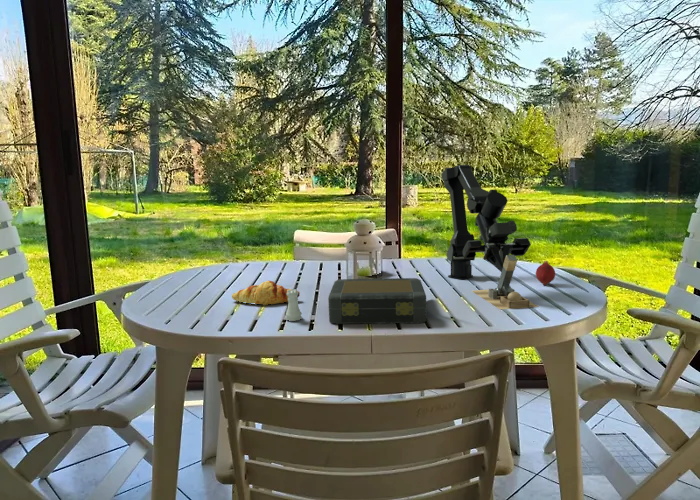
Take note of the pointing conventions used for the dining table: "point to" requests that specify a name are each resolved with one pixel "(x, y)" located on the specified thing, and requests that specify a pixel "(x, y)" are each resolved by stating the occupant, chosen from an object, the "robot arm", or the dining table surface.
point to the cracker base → (503, 300)
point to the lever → (506, 276)
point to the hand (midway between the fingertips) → (504, 272)
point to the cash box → (377, 301)
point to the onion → (545, 273)
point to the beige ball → (514, 296)
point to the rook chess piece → (293, 306)
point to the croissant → (263, 294)
